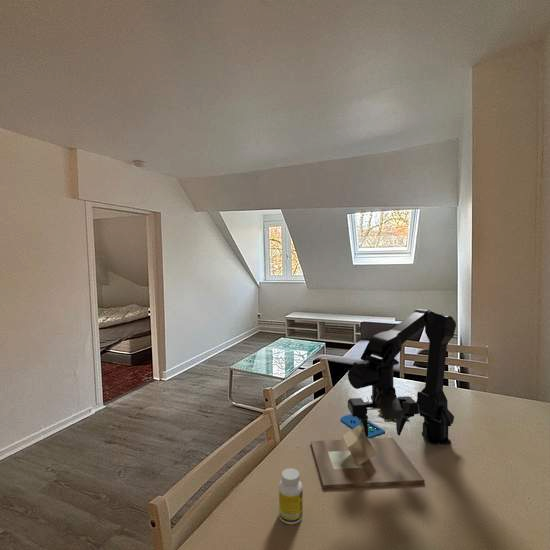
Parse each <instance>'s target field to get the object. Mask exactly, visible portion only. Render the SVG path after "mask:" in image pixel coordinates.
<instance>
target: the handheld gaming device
mask: <svg viewBox="0 0 550 550" xmlns="http://www.w3.org/2000/svg"><path fill="white" fill-rule="evenodd" d="M340 421H341V423H343V424H344V425H346V426H348V428H350V429H351V428H352V429H354V428H355V427H357V426H359V425H360V427H361V428H362V430H363V432H364V429H363V427H362V424H361V421H360V419H358V418H357V417H356V416H353V415H352V414H351V413H350V414H347V415H344V416H341V417H340ZM367 423H368V437H367V438H368V439H369V438H375V437H378V436H380V435H384V434H385V433H386V431H385V430H384V429H383V428H381V427H380V426H378V425H376V424H375V423H373V422H372V421H370V420H369V419H368V420H367ZM369 427H372V428H369ZM375 428H376V429H375ZM352 429H351V430H352ZM364 433H365V432H364Z"/></svg>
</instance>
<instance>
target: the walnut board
mask: <svg viewBox="0 0 550 550" xmlns="http://www.w3.org/2000/svg"><path fill="white" fill-rule="evenodd" d="M368 440H369V442H370V443H371V445H372V447H373V448H374V450H375V452H376V453H377V454H376V455H375V456H373V457H371V458H370V459H368V460H367V461H365V462H363V463H362V464H360V465H358V464H357V463H356V461H355V459H354V458H353V456H352V454H351V453H350V451H349V449H348V448H347V446H346V444H345V441H344V439H332V440H331V439H330V440H329V439H328V440H311V441H310V445H311V446H310V447H311V449H312V453H313V456H314V461H315V463H316V467H317V469H318V475H319V478H320V481H321V486H322V488H323V490H329V489H331V490H332V489H349V488H350V489H351V488H366V487H367V488H370V487H387V486H391V487H392V486H407V485H409V486H410V485H425V483H426V482H425V481H426V480H425V479H424V478H423V476H422V474H421V473H420V472H419V471H418V469H417V468H416V467H415V465H414V464H413V463H412V461H411V460H410V458H409V457H408V456H407V454H406V453H405V452H404V450H403V449H402V448H401V446H400V445H399V444H398V442H397V441H396V440H395V438H394V437H378V438H377V437H376V438H375V437H372V438H369V439H368Z"/></svg>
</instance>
